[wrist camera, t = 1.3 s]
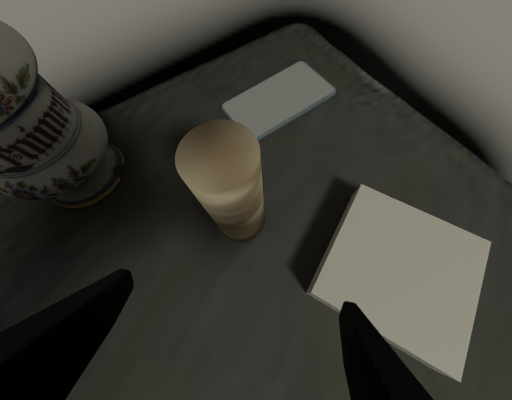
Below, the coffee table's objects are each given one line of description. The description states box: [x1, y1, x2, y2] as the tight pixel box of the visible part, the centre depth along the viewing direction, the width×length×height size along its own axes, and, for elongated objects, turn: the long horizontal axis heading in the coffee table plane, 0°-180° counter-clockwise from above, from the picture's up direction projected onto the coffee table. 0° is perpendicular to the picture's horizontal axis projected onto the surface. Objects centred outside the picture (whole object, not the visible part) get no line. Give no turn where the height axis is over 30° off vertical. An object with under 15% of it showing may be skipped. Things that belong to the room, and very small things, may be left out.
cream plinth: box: [306, 184, 491, 382], centre depth 21 cm, size 12×12×3 cm
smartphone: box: [221, 61, 336, 140], centre depth 32 cm, size 8×1×15 cm
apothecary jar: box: [0, 21, 124, 208], centre depth 21 cm, size 12×12×18 cm
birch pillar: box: [175, 120, 265, 242], centre depth 20 cm, size 5×5×13 cm
